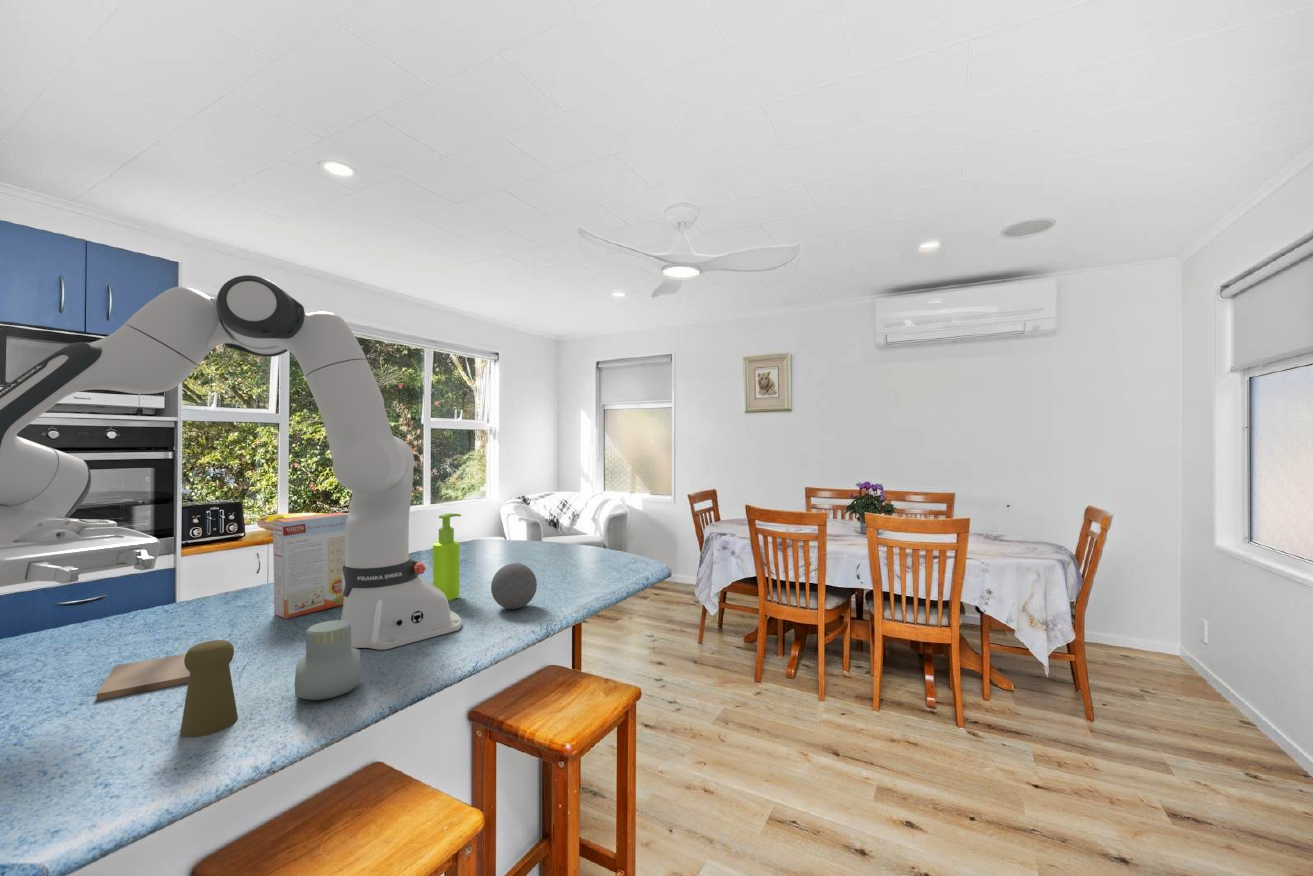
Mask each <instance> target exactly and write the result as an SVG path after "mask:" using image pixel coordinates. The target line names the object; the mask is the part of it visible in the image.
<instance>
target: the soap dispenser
mask: <svg viewBox="0 0 1313 876" xmlns="http://www.w3.org/2000/svg"><path fill="white" fill-rule="evenodd" d="M461 516H462V514H461V513H444V514H441V515H439V516H438V519H442V527H440V528H438V541H437V542H435V543H433V544H432V585H433V586H435V587H436V588H438V589H439V590H441V591H442V592H443V593H444V594H445V596H446V598H447V600H452V599H455V598H457V597H458V596H459V597H460V542H459V541H455V539H454V538H455V535H454V534H455V531H454V530H455V529H454V527H452V526H451V518H455V517H461ZM455 600H456V599H455ZM452 601H453V600H452Z"/></svg>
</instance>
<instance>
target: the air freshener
mask: <svg viewBox="0 0 1313 876" xmlns="http://www.w3.org/2000/svg"><path fill="white" fill-rule="evenodd" d="M305 634H306V635H305V637H306V638H305V642H306V643H305V645H306V647H305V655H304V656H302V657H300V658H299V659H298V660H296V665H295V673H294V695H295V696H296V697H298V698H301V699H304V700H308V701H309V700H310V701H323V700H329V699H333V698H337V697H340V696H343V695H345V694H346V693H349V692H350V691H352V690H353V689H355V688H356V687H357V686H359V685H360V684H361V675H362V674H361V650H360V649H358V648H354V647H351V624H350V623H349V622H347V621H343V620H341V619H339V620H337V619H335V620H328V621H323V622H318V623H316V624H313V625H311V626H309V628H308V629H306V633H305Z"/></svg>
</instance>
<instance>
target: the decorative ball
mask: <svg viewBox="0 0 1313 876" xmlns="http://www.w3.org/2000/svg"><path fill="white" fill-rule="evenodd" d="M537 582H538V581H537V577H536V575H535V573H534V572H533V571H532V569H531V568H530V567H528V566H526V565H525V564H522V563H516V562H515V563H509V564H506V565H504V566H502V567H501V568H500V569H498V570H497V572H496V573H495V574H494V576H493V578H492V579H491V587H490V591H491V595H492V598H493V599H494V601H495V602H496V603H497V604H498V605H499V606H501V607H502V608H504V609H507V610H518V609H521V608H524V607H525V606H526V605H528V604H529V603H530V602H531V601H532V599H534V596H535V595H536V593H537V587H538V586H537V585H538V583H537Z"/></svg>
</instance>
